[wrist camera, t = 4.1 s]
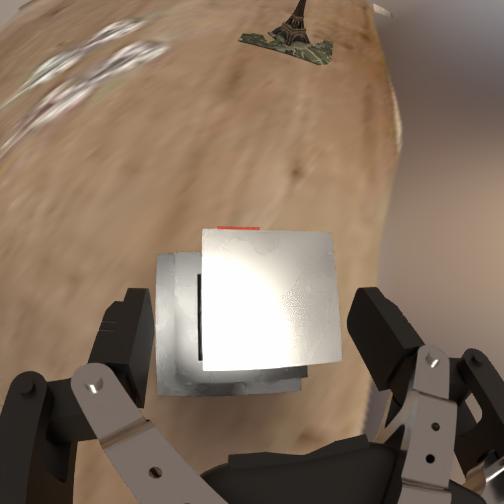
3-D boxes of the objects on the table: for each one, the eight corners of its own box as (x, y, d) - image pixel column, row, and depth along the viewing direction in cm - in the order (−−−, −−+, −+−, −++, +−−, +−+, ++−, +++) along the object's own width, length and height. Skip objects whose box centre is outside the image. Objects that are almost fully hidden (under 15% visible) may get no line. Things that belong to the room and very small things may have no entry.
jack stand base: (160, 392, 23) (133, 423, 13) (159, 258, 26) (136, 210, 16) (295, 387, 25) (348, 411, 15) (289, 259, 28) (334, 215, 18)
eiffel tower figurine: (235, 43, 37) (248, -28, 25) (252, 19, 41) (265, -40, 28) (328, 71, 38) (360, 5, 26) (332, 43, 42) (358, -13, 29)
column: (204, 349, 23) (203, 370, 7) (203, 300, 24) (202, 229, 9) (254, 348, 23) (342, 360, 8) (252, 299, 24) (331, 232, 9)
